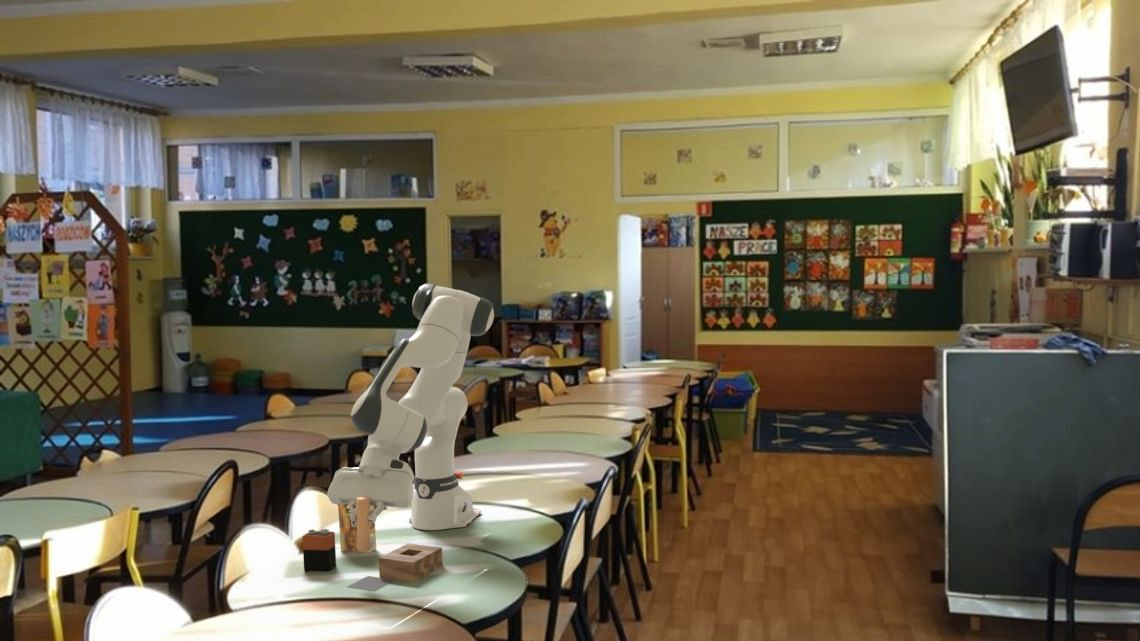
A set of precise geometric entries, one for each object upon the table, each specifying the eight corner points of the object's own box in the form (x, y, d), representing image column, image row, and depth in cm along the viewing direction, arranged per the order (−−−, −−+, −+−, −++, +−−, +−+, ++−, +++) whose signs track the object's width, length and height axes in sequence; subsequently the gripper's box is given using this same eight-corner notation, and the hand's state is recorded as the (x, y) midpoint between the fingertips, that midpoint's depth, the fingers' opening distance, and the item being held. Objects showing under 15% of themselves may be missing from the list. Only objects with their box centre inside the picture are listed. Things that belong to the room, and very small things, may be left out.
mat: (368, 577, 221) (368, 575, 221) (395, 581, 217) (395, 579, 217) (346, 588, 214) (346, 586, 214) (374, 592, 210) (374, 591, 210)
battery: (329, 573, 225) (327, 532, 224) (303, 572, 226) (301, 532, 226) (337, 567, 229) (335, 527, 229) (311, 566, 231) (309, 527, 230)
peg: (362, 546, 217) (361, 496, 217) (372, 548, 216) (372, 497, 215) (354, 549, 215) (353, 499, 214) (364, 551, 213) (363, 500, 213)
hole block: (409, 563, 231) (408, 543, 230) (442, 567, 226) (442, 547, 226) (379, 578, 220) (378, 557, 220) (414, 583, 216) (413, 562, 215)
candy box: (377, 549, 243) (374, 492, 242) (367, 554, 239) (364, 496, 238) (349, 546, 246) (346, 489, 245) (339, 551, 242) (336, 493, 241)
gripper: (333, 460, 223) (315, 511, 214) (414, 463, 219) (399, 516, 210) (341, 473, 227) (324, 524, 219) (420, 477, 224) (407, 529, 215)
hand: (362, 520), depth 214 cm, fingers closed on peg, 3 cm apart
